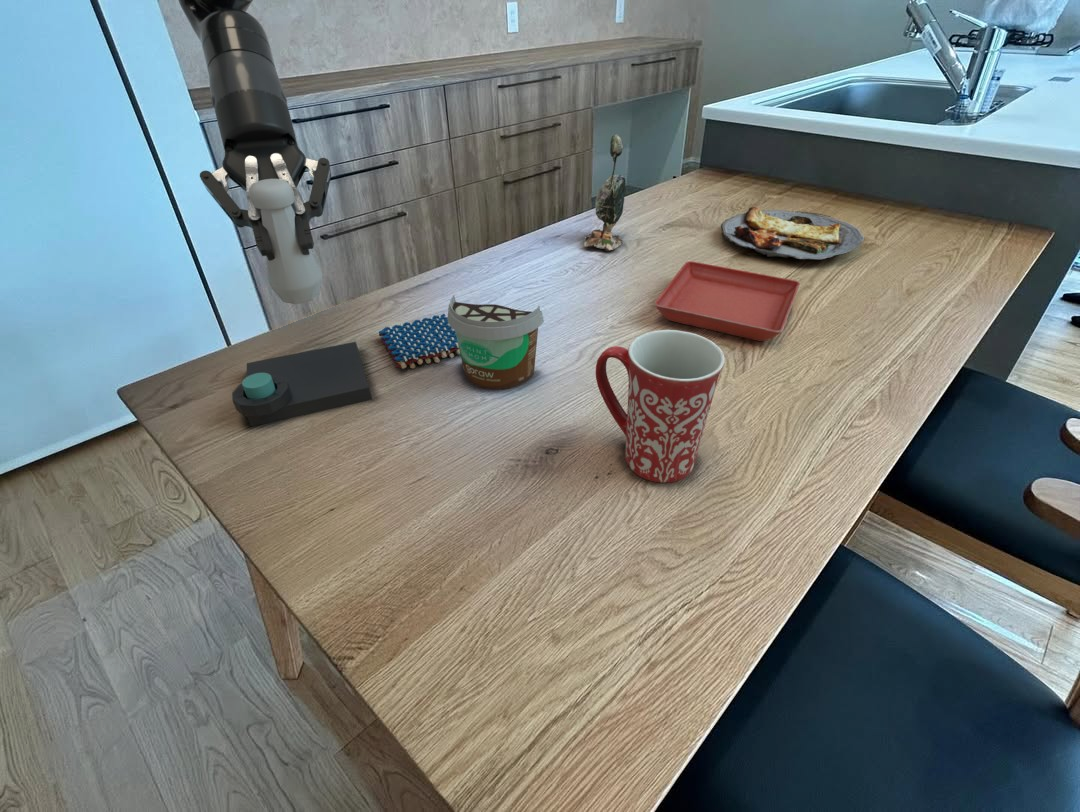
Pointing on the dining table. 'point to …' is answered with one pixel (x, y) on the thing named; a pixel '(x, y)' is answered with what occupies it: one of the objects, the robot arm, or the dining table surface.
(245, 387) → the button
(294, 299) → the salt shaker
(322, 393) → the scale
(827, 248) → the food plate
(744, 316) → the plant saucer
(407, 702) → the dining table surface
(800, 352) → the dining table surface
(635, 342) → the mug
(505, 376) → the food container
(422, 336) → the woven mat
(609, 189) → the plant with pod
